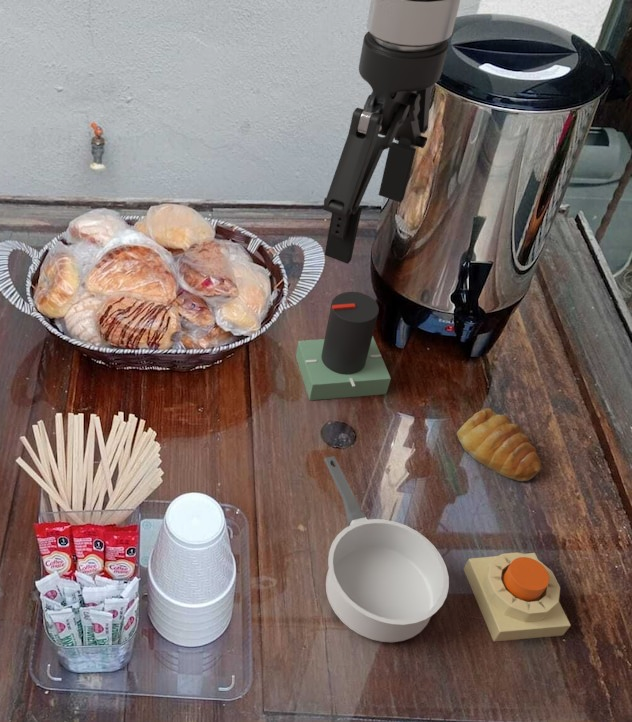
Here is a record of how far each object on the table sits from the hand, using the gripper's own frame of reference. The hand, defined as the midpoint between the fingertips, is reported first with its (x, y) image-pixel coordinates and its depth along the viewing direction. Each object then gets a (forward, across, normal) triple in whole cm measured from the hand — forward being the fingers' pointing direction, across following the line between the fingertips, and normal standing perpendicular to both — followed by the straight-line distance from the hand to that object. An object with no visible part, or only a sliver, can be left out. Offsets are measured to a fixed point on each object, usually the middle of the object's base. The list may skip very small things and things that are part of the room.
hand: (365, 226), depth 85 cm
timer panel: (+23, 0, +1) cm, 23 cm away
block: (+23, +19, +29) cm, 42 cm away
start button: (+20, +19, +29) cm, 40 cm away
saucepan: (+24, +24, +15) cm, 37 cm away
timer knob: (+20, 0, +1) cm, 20 cm away
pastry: (+23, +1, +22) cm, 32 cm away
